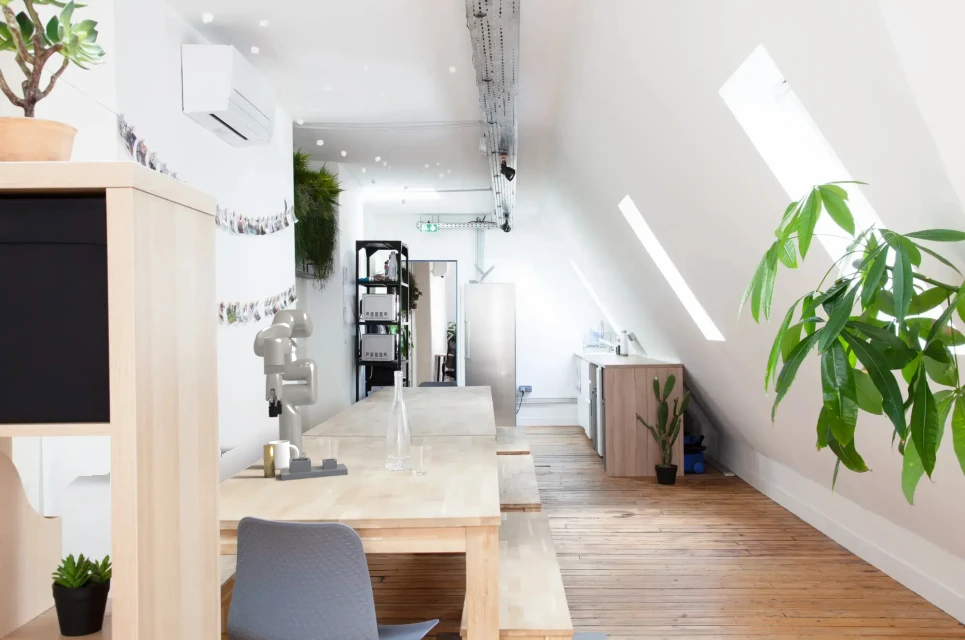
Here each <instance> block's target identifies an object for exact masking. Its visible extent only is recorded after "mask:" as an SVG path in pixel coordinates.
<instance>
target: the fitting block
mask: <svg viewBox="0 0 965 640" xmlns="http://www.w3.org/2000/svg"><path fill="white" fill-rule="evenodd" d="M321 460H322V461H321V462H322V465H316V466H312V459H311V457H308V456H307V457H302V458H295V459H289V467H288V468H285V469H279V470H280V472H279V473H280V478H281V479H280V480H281V481H289V480H290V481H292V480H302V479H303V480H304V479H315V478H326V477H335V476H344V475H346V476H347V475H348V474H349V471H348V468H347V466H346V465H345V463H338V461H337V459H336V457H335V458H334V457H333V458H324V459H323V458H322V459H321Z"/></svg>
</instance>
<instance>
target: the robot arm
mask: <svg viewBox="0 0 965 640" xmlns="http://www.w3.org/2000/svg"><path fill="white" fill-rule="evenodd" d="M313 328H314V325H313V321H312V319H311V316H310V313H309V312H308V311H307V310H305V309H299V308H298V309H297V308H295V309H280V310H278V311H276V313H275V314H274V317H273V319H272V323H271V324H270V325H269V326H268V325H267V326H265V327H264V328H262V329H260V330H259V331H257V333H256V336H255V339H254V341H253V352H254V354H255V356H257V357H261V358H263V375H265V401H267V402H268V417H269V418H278V430H279V431H278V434H279V435H278V437H279V438H278V439H279V440H278V441H280V440H286V441H289V445H294V446H296V447H297V449H298V451H299V457H298V458H306V456H307V453H306V452H304V451H303V430H302V429H303V422H302V414H301V412H300V411H299V410H298V408H297V407H299V406H311V405H316V403H317V402H318V398H319V397H318V396H319V395H318V393H319V391H318V367H317V362H316V361H315V360H314V359H312V358H300V347H299V345H298V344H297V343H296V342H295V340H294V339H299V338H301V339H302V338H305V339H306V338H310V337H311V336H312V334H313V332H314V331H313V330H314V329H313ZM283 381H287V382H293V381H295V382H297V381H299V382H300V381H301V382H302V381H305V382H306V383H285V384H283ZM295 456H296V452H295V450H294V449H291V448H290V459H294V458H295Z"/></svg>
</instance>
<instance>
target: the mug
mask: <svg viewBox="0 0 965 640" xmlns="http://www.w3.org/2000/svg"><path fill="white" fill-rule="evenodd" d="M267 444H274V447H275V470H280V469H288V468H289V459H290V448H291V449H294V450H295V452H296V456H295V458H298V457H299V451H298V449H297V447H296V446H294V445H289V441H286V440H280V441H279V440H273V441H269V442H268V443H267ZM295 458H294V459H295Z"/></svg>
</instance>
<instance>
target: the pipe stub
mask: <svg viewBox="0 0 965 640" xmlns="http://www.w3.org/2000/svg"><path fill="white" fill-rule="evenodd" d="M262 448H263V473H264V474H263V475H264V476H263V477H264V478H265V479H272V478H275V477H276V469H275V447H274V444H268V443H267V444H264V445H263V447H262Z"/></svg>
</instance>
